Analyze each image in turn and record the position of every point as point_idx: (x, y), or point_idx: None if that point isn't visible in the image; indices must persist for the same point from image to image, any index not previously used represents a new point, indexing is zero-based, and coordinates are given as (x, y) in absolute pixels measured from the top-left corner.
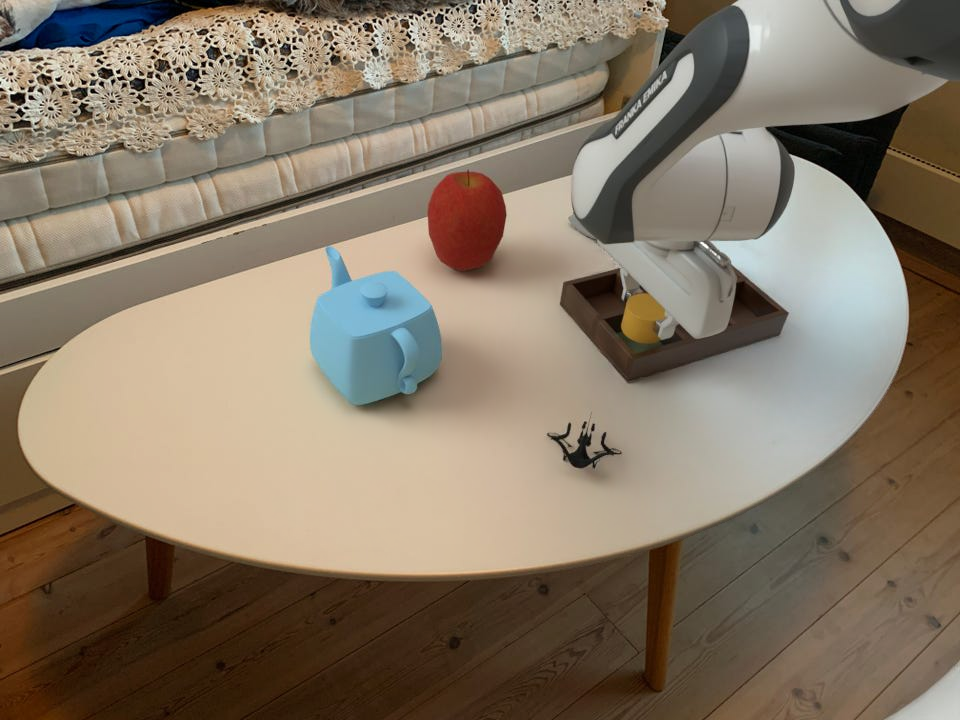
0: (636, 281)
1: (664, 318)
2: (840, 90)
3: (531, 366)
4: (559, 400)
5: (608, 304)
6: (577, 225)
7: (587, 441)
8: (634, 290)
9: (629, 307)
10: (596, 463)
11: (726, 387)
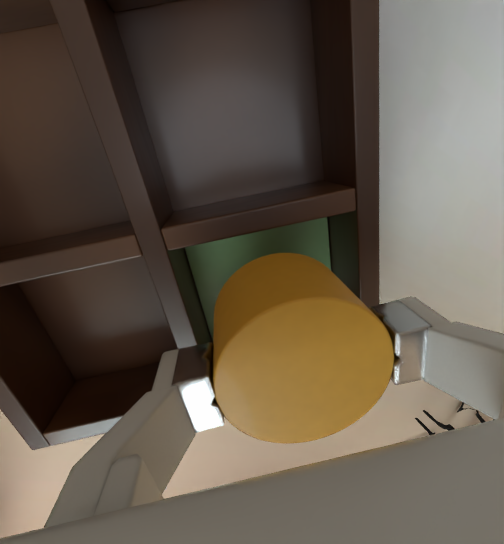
0: (158, 422)
1: (400, 353)
2: None
3: (259, 453)
4: (344, 430)
5: (76, 294)
6: None
7: None
8: (193, 406)
9: (292, 439)
10: (478, 414)
11: (447, 97)
